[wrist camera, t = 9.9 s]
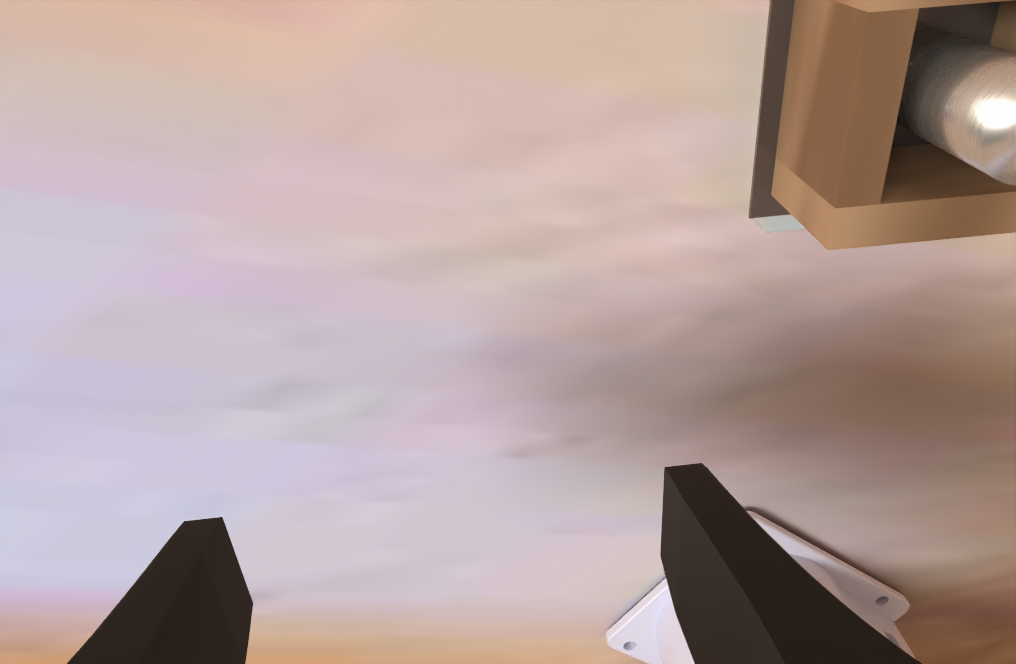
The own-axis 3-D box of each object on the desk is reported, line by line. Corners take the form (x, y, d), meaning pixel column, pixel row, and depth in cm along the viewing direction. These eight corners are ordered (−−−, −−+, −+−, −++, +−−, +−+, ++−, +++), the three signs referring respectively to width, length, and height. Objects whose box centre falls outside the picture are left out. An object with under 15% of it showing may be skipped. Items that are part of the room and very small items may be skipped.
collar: (1063, -82, 17) (1190, -71, 15) (993, 174, 21) (1085, 225, 18) (802, -61, 17) (877, -46, 14) (771, 194, 20) (828, 250, 17)
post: (1085, -106, 17) (1300, -96, 13) (1003, 191, 21) (1149, 275, 17) (778, -79, 17) (894, -60, 13) (748, 217, 21) (831, 309, 16)
